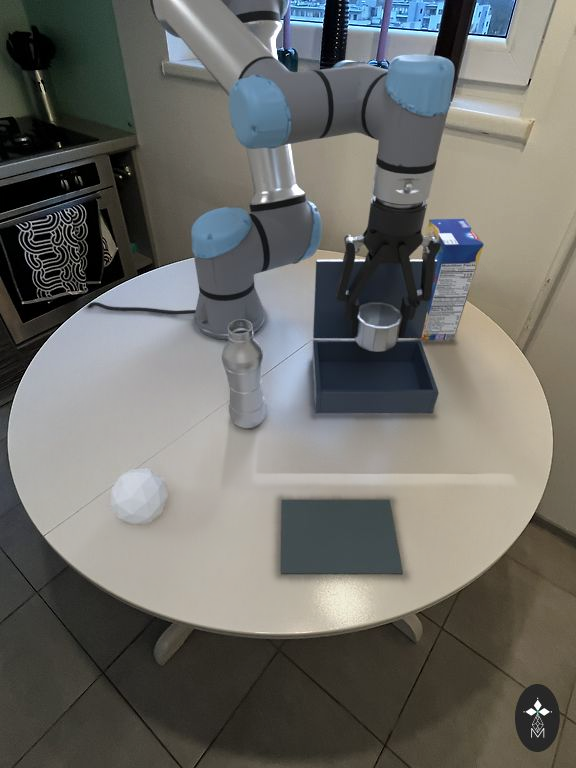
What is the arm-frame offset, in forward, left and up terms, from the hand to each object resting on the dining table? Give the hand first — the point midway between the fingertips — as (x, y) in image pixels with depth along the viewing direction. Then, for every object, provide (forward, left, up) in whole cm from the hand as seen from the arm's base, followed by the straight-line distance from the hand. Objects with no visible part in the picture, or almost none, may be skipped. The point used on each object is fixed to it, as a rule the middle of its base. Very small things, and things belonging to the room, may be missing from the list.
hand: (375, 333), depth 77 cm
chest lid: (0, +7, +1) cm, 7 cm away
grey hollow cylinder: (0, 0, -1) cm, 1 cm away
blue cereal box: (+16, +19, -13) cm, 28 cm away
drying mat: (-8, -30, -13) cm, 34 cm away
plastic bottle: (-22, -8, -13) cm, 27 cm away
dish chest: (0, 0, -13) cm, 13 cm away
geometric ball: (-36, -26, -13) cm, 46 cm away
